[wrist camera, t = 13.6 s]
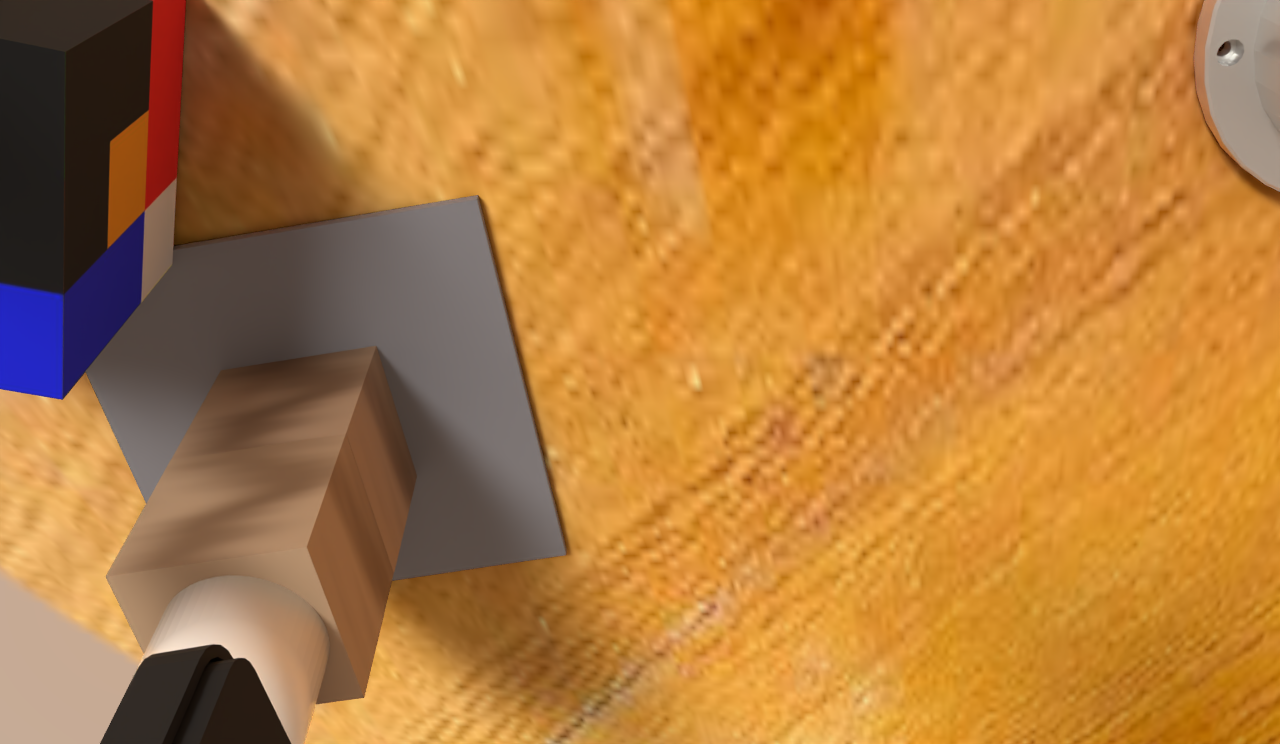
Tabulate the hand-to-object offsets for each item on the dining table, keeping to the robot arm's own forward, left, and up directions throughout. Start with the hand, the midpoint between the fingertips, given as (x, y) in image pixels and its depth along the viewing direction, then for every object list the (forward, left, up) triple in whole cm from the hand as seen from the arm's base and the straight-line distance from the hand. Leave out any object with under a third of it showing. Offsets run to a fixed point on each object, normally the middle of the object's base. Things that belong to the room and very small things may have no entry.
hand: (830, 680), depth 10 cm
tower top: (+16, +16, -26) cm, 35 cm away
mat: (+16, +15, -33) cm, 40 cm away
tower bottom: (+16, +16, -32) cm, 39 cm away
